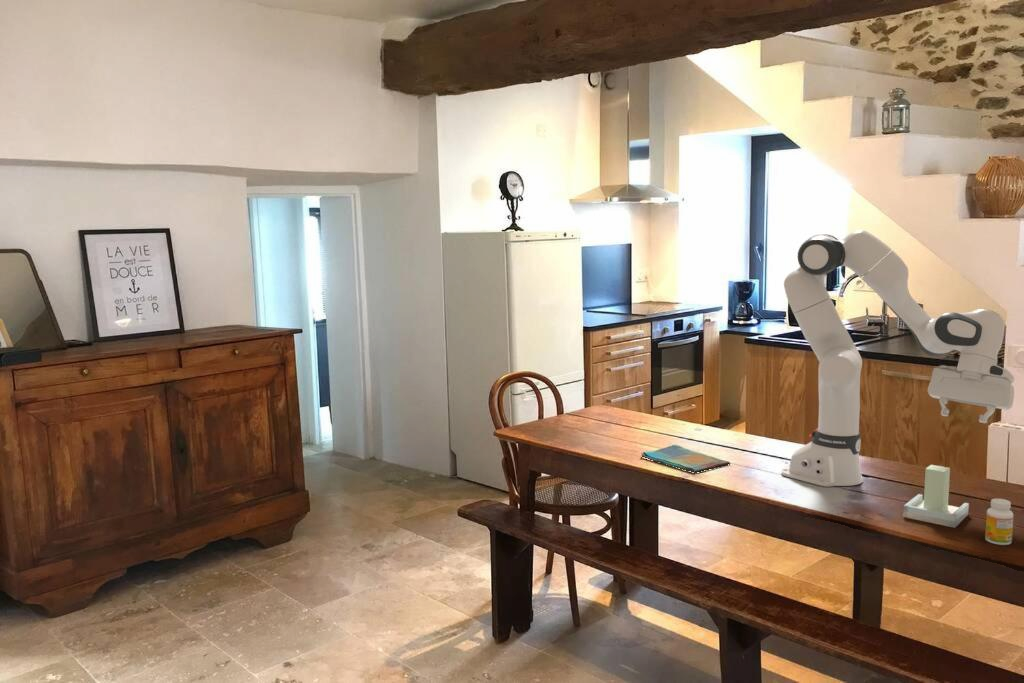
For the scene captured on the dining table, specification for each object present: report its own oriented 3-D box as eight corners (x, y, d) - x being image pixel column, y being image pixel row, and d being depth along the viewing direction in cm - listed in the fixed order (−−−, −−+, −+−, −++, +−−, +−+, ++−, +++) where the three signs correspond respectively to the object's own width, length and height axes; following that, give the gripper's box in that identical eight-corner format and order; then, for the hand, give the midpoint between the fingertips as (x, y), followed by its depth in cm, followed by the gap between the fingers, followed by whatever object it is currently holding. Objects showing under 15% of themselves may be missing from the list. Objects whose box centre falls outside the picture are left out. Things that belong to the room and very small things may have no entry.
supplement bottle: (982, 536, 197) (984, 496, 196) (1008, 538, 195) (1010, 498, 194) (988, 544, 192) (990, 503, 191) (1014, 546, 190) (1017, 505, 189)
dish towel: (676, 450, 279) (676, 443, 278) (731, 466, 260) (731, 458, 259) (639, 459, 269) (639, 451, 268) (693, 476, 250) (694, 468, 249)
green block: (923, 510, 211) (925, 468, 209) (928, 506, 214) (930, 464, 212) (942, 514, 208) (944, 471, 206) (947, 509, 211) (950, 467, 209)
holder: (903, 517, 211) (903, 505, 210) (917, 504, 219) (918, 493, 219) (954, 527, 202) (955, 515, 202) (968, 514, 211) (968, 503, 211)
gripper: (931, 360, 226) (918, 408, 224) (1014, 371, 211) (1001, 423, 209) (938, 367, 230) (926, 414, 228) (1021, 379, 216) (1008, 429, 214)
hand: (963, 418), depth 219 cm, fingers open, 8 cm apart
